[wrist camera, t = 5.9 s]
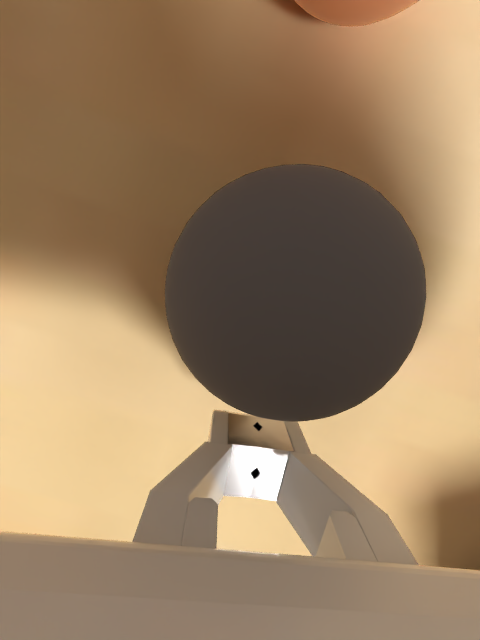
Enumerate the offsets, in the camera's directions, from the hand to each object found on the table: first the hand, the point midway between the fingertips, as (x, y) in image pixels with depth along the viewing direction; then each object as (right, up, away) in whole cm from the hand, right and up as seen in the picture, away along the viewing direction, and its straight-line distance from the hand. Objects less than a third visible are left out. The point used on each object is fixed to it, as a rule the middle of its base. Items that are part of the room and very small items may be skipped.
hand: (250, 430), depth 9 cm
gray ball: (+1, +4, -2) cm, 5 cm away
